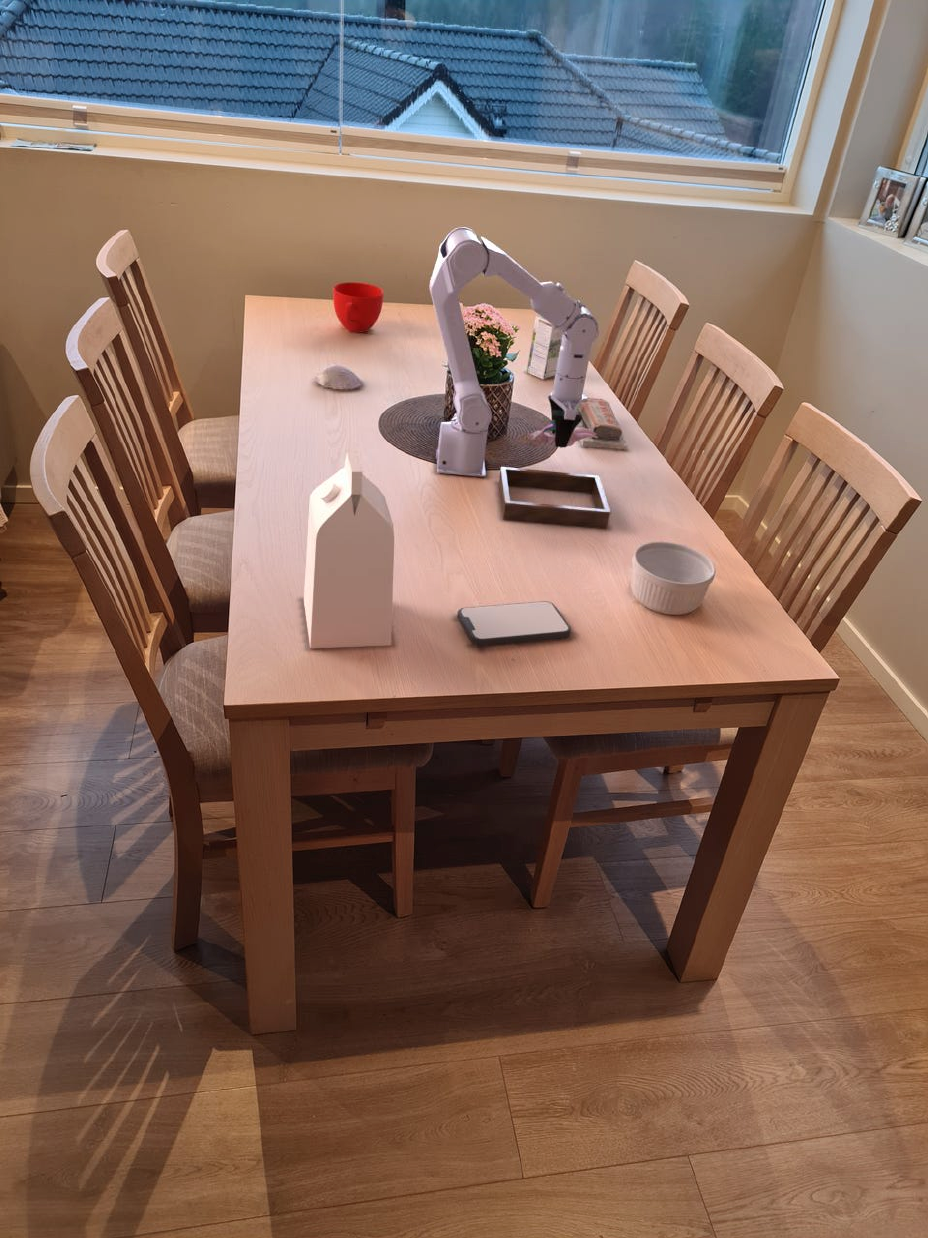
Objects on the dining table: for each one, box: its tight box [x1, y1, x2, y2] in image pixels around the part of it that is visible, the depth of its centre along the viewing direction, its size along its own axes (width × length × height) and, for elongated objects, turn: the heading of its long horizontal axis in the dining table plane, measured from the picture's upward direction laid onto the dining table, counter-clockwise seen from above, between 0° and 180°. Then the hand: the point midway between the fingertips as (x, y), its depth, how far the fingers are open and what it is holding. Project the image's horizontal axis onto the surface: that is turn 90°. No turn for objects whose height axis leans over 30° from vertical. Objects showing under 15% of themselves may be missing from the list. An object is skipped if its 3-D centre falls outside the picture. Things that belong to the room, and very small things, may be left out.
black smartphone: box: [456, 600, 572, 648], centre depth 141 cm, size 9×2×16 cm
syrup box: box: [526, 314, 566, 380], centre depth 230 cm, size 6×6×14 cm
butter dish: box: [575, 397, 628, 451], centre depth 206 cm, size 18×5×10 cm
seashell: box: [314, 364, 362, 391], centre depth 213 cm, size 10×6×10 cm
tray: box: [498, 466, 612, 530], centre depth 175 cm, size 19×15×4 cm
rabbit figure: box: [520, 419, 598, 449], centre depth 184 cm, size 6×6×15 cm
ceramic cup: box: [332, 281, 385, 333], centre depth 243 cm, size 13×17×10 cm
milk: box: [303, 451, 395, 649], centre depth 131 cm, size 12×12×26 cm
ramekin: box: [630, 540, 716, 616], centre depth 152 cm, size 13×13×7 cm
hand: (558, 439), depth 185 cm, fingers closed on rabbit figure, 6 cm apart
